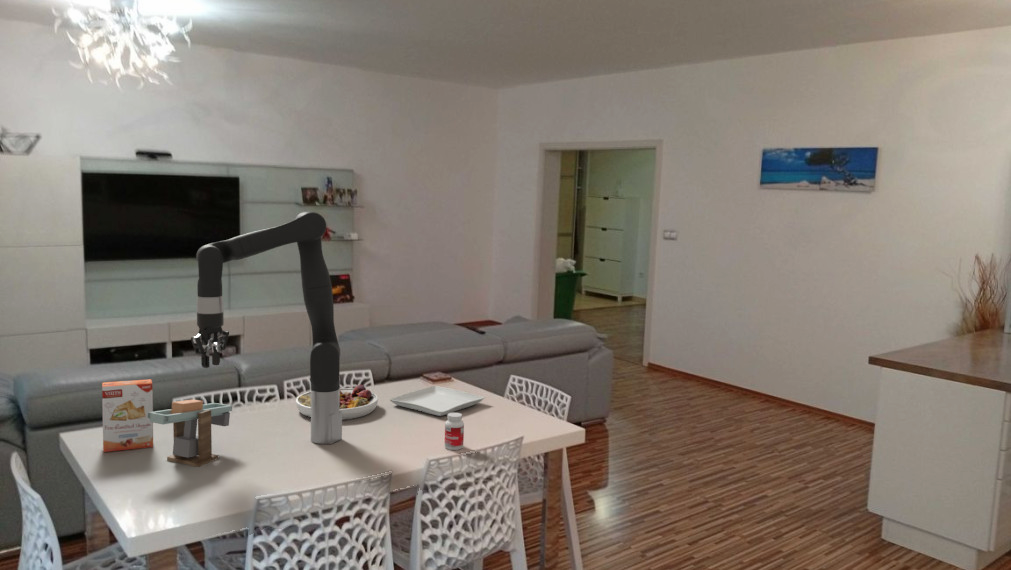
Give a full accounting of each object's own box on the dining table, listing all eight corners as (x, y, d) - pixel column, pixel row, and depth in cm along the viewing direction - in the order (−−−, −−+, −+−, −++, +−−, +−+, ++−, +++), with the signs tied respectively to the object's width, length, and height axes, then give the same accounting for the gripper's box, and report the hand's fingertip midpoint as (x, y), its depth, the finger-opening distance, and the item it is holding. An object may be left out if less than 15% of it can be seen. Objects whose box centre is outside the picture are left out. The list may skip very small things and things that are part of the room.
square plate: (434, 393, 307) (434, 384, 307) (486, 405, 291) (486, 396, 291) (387, 406, 285) (388, 397, 285) (441, 421, 269) (441, 410, 269)
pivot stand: (218, 458, 223) (217, 408, 222) (198, 466, 216) (197, 415, 214) (187, 452, 228) (187, 403, 226) (167, 460, 220) (166, 409, 219)
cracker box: (103, 453, 224) (101, 386, 222) (103, 447, 230) (101, 381, 227) (154, 447, 231) (152, 382, 228) (153, 441, 236) (151, 378, 234)
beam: (228, 449, 231) (232, 405, 231) (162, 464, 207) (166, 415, 207) (211, 445, 233) (214, 402, 234) (143, 460, 209) (148, 412, 209)
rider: (201, 414, 221) (203, 401, 221) (181, 417, 214) (182, 403, 214) (191, 412, 223) (192, 399, 223) (170, 415, 215) (172, 402, 215)
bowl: (337, 428, 257) (337, 406, 256) (278, 413, 272) (278, 392, 271) (394, 409, 282) (394, 389, 281) (337, 396, 298) (337, 377, 297)
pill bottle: (441, 448, 239) (441, 415, 237) (449, 443, 244) (450, 410, 243) (458, 451, 236) (459, 418, 235) (466, 446, 242) (467, 413, 241)
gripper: (202, 314, 216) (203, 372, 218) (236, 308, 229) (237, 363, 231) (182, 312, 219) (183, 369, 221) (217, 306, 232) (218, 360, 234)
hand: (210, 365), depth 226 cm, fingers open, 3 cm apart
